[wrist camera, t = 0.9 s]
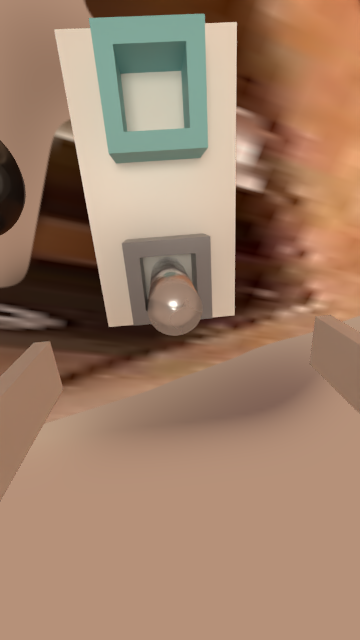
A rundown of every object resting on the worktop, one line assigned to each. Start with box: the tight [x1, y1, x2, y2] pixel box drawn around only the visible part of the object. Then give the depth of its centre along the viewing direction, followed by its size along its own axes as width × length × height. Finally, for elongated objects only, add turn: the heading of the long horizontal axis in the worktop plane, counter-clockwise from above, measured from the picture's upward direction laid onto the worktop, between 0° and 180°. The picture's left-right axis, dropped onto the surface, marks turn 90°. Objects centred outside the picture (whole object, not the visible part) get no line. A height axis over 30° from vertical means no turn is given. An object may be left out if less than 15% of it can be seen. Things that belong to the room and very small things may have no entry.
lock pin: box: [148, 257, 203, 336], centre depth 25 cm, size 4×4×13 cm
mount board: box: [54, 22, 237, 327], centre depth 27 cm, size 16×28×6 cm, turn 4°
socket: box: [89, 14, 208, 163], centre depth 23 cm, size 9×9×4 cm
